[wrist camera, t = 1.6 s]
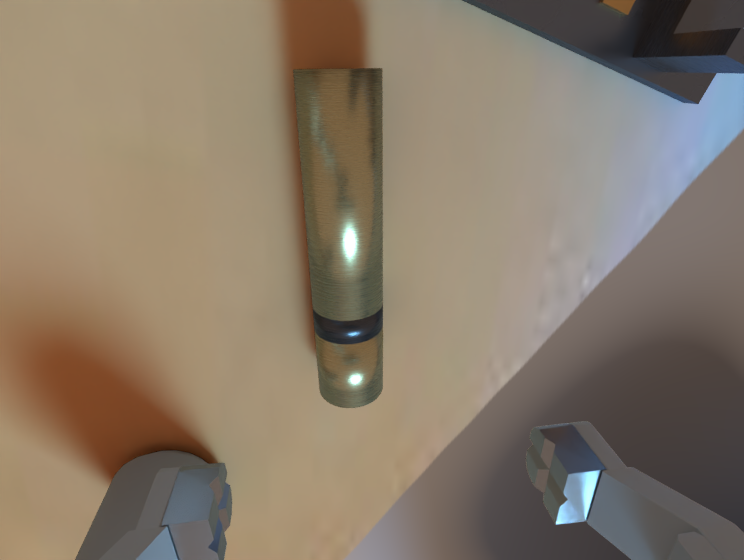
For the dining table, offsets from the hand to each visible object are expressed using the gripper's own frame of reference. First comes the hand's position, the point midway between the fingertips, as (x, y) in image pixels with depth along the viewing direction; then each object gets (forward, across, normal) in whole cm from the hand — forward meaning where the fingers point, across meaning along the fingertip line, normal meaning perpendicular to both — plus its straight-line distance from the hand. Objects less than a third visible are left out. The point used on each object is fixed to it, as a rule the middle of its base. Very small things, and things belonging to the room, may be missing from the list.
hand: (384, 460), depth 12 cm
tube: (+16, 0, 0) cm, 16 cm away
